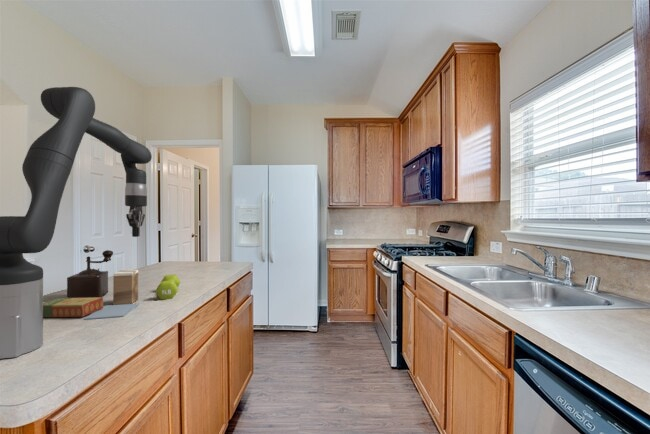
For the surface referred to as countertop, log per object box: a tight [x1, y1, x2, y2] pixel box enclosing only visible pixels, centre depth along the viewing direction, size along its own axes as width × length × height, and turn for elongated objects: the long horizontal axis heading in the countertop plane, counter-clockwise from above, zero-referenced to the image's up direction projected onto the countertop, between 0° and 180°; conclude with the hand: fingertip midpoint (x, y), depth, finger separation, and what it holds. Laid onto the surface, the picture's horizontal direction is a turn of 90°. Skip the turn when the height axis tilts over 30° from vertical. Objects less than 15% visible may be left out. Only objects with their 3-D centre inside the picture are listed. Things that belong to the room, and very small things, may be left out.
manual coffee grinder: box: [66, 249, 114, 298], centre depth 116 cm, size 16×11×18 cm
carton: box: [43, 296, 104, 318], centre depth 94 cm, size 8×16×4 cm, turn 88°
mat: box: [83, 303, 139, 321], centre depth 96 cm, size 13×11×1 cm
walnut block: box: [112, 269, 139, 305], centre depth 106 cm, size 6×6×12 cm
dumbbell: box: [155, 274, 181, 301], centre depth 117 cm, size 16×8×7 cm, turn 23°
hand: (135, 236), depth 114 cm, fingers closed
